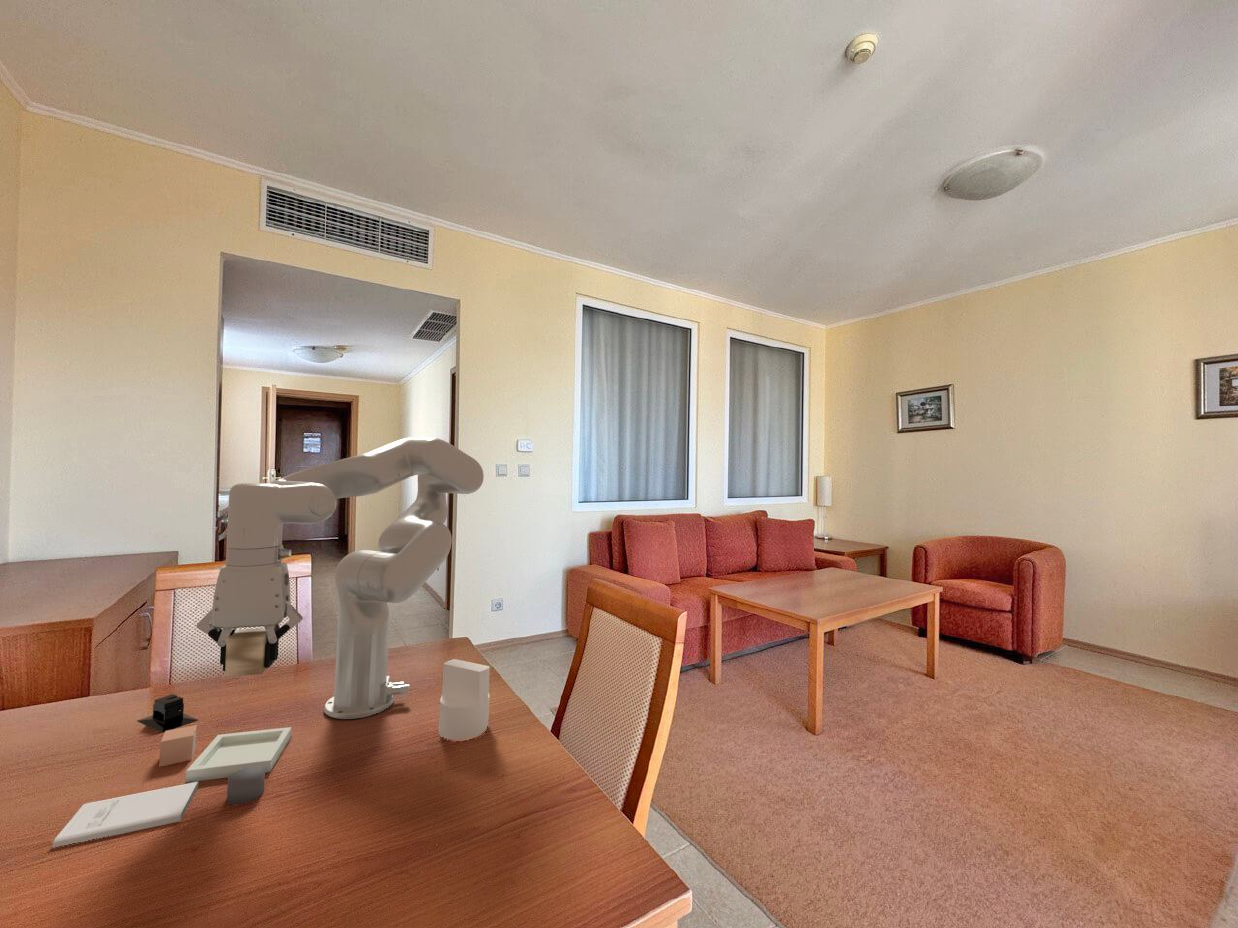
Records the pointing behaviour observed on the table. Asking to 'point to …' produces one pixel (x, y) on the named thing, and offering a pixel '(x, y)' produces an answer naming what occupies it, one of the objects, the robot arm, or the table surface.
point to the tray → (239, 753)
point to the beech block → (246, 652)
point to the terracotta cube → (177, 745)
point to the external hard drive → (127, 814)
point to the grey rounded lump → (245, 785)
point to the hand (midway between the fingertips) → (249, 665)
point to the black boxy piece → (167, 714)
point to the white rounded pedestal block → (464, 700)
